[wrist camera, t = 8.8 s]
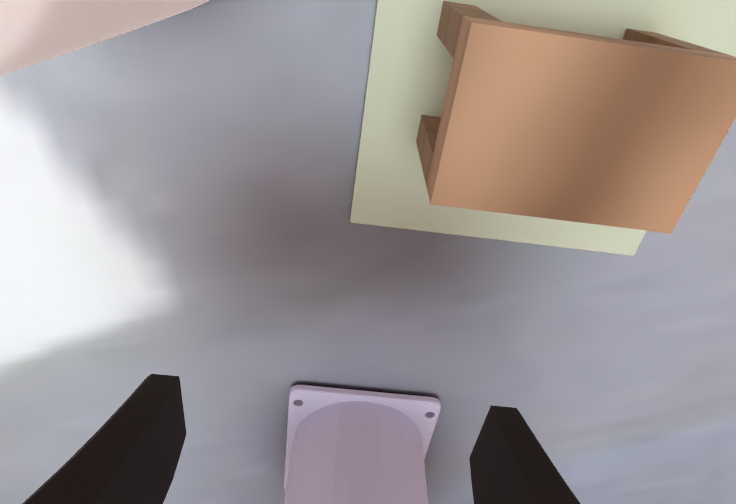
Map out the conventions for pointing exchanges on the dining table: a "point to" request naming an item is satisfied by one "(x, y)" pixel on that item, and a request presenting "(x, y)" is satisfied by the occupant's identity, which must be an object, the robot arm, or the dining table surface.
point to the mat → (428, 91)
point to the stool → (574, 122)
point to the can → (72, 25)
